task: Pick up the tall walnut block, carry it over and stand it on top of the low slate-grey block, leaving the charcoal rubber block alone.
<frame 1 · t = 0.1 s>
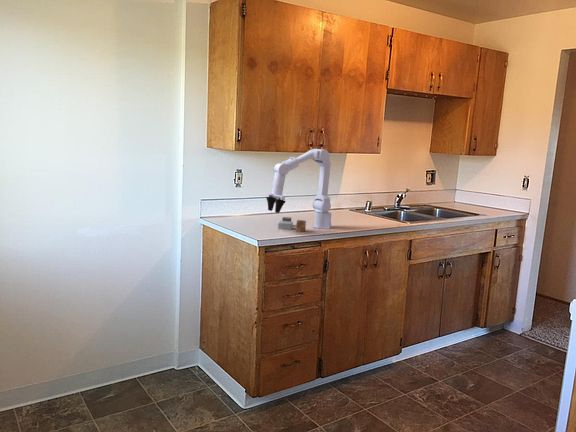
hand: (273, 211, 258), 10 cm above the worktop, tool pointing down, fingers open, 7 cm apart
slate base block: (285, 228, 269), on the worktop
charcoal block: (286, 225, 276), on the worktop
walnut block: (300, 231, 263), on the worktop
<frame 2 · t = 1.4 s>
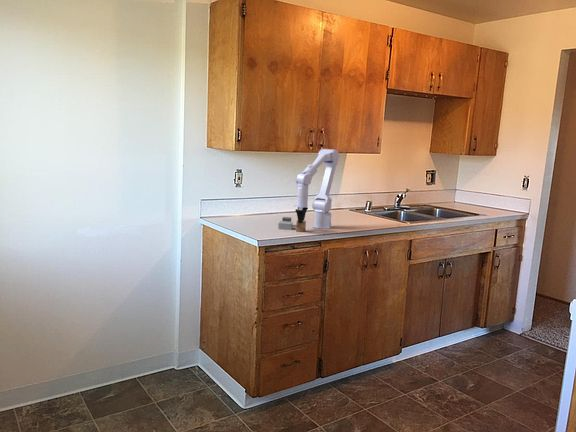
hand: (301, 221, 262), 5 cm above the worktop, tool pointing down, fingers open, 7 cm apart
nothing on the worktop moved.
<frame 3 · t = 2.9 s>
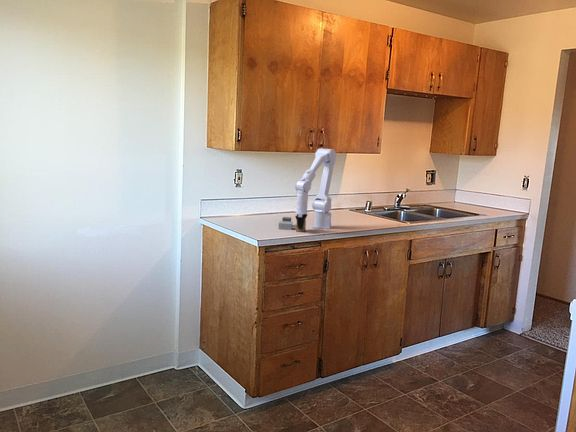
hand: (300, 228, 263), 1 cm above the worktop, tool pointing down, fingers closed on walnut block, 4 cm apart
walnut block: (300, 230, 263), on the worktop, touching gripper
everything else where it was.
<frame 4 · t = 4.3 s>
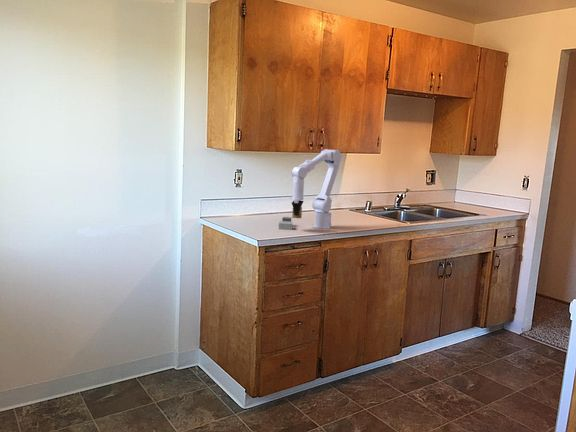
hand: (297, 214, 263), 8 cm above the worktop, tool pointing down, fingers closed on walnut block, 4 cm apart
walnut block: (296, 217, 263), point 7 cm above the worktop, touching gripper
everything else where it was.
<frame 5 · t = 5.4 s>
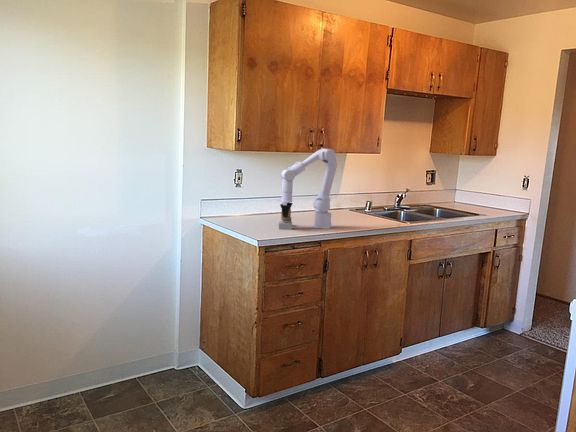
hand: (285, 216, 267), 6 cm above the worktop, tool pointing down, fingers closed on walnut block, 4 cm apart
walnut block: (285, 219, 268), point 5 cm above the worktop, touching gripper
everything else where it was.
when the fingers open (6 cm above the worktop, at t = 5.9 s): walnut block drops 2 cm, resting on slate base block.
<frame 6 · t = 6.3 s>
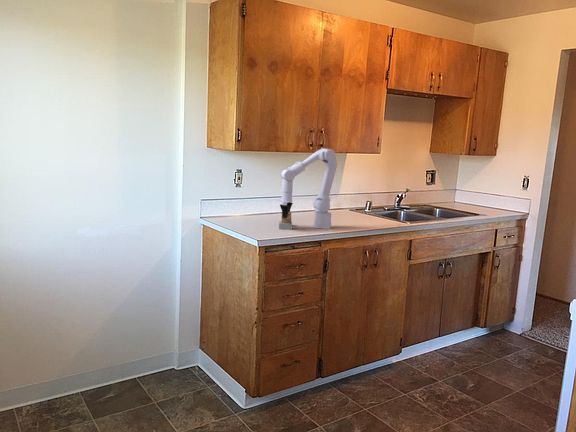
hand: (285, 216, 267), 6 cm above the worktop, tool pointing down, fingers open, 7 cm apart
slate base block: (285, 228, 269), on the worktop, touching walnut block
walnut block: (286, 222, 268), point 3 cm above the worktop, touching slate base block
everything else where it was.
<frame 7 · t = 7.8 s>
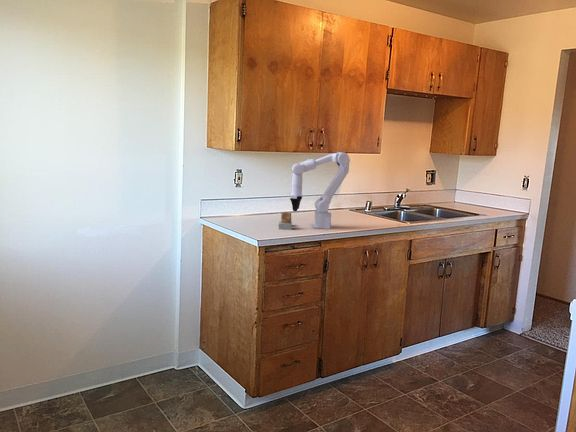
hand: (295, 210, 273), 9 cm above the worktop, tool pointing down, fingers open, 7 cm apart
slate base block: (285, 228, 269), on the worktop
walnut block: (286, 222, 268), point 3 cm above the worktop
everything else where it was.
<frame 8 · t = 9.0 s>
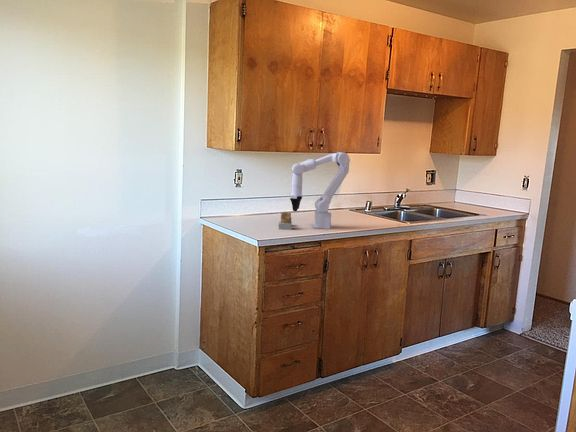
hand: (295, 210, 273), 9 cm above the worktop, tool pointing down, fingers open, 7 cm apart
slate base block: (285, 228, 269), on the worktop, touching walnut block
walnut block: (285, 222, 268), point 3 cm above the worktop, touching slate base block
everything else where it was.
at the end: walnut block 0.2 cm off-centre on the slate base block, point 3.5 cm above the slate base block's base; walnut block tilted 0°; the gripper is holding nothing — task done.
